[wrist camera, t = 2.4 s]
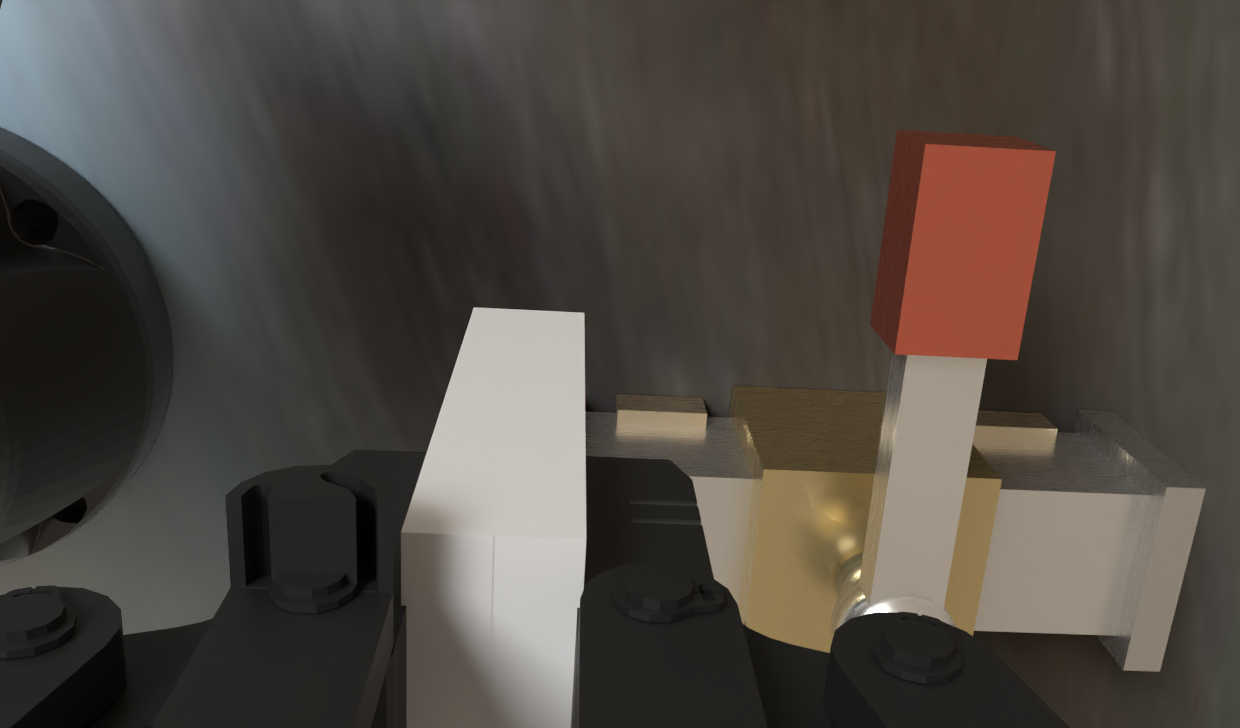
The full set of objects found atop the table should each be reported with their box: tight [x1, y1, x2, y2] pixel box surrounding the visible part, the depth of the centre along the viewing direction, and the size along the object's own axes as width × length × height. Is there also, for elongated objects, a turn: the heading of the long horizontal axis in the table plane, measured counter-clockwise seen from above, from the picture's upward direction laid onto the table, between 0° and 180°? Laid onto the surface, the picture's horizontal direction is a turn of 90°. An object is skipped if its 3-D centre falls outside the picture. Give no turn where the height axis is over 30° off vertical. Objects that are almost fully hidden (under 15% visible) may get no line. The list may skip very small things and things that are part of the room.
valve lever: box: [830, 130, 1056, 639], centre depth 29 cm, size 15×3×2 cm, turn 177°
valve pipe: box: [585, 386, 1206, 672], centre depth 36 cm, size 20×7×9 cm, turn 87°
